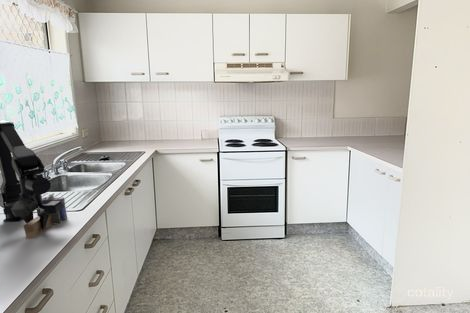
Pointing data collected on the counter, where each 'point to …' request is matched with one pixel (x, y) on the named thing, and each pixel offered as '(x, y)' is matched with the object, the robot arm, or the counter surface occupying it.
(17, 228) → the counter surface
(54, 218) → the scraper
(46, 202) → the blue painted container
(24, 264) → the counter surface
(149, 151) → the counter surface
